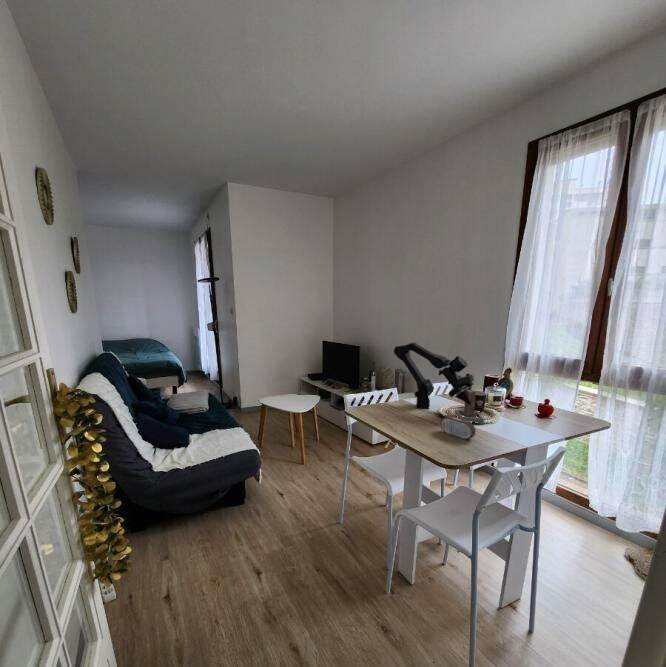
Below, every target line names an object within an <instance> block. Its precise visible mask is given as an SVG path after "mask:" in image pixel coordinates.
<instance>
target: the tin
mask: <svg viewBox="0 0 666 667" xmlns="http://www.w3.org/2000/svg"><path fill="white" fill-rule="evenodd" d="M440 427H441V429H442V431H443V433H446V434H447V435H450V436H453V437H455V438H457V439H458V438H459V439H462V440H464V439H465V440H466V441H467V440H470V439H472V438H474V436H475V435H476V428H475V425H474V424H472V423H471V422H469V421H467V420H464V419H461V418H457V417H456V416H453V415H449V414H448V415H445V416H444V417H443V418H442V419H441V420H440Z"/></svg>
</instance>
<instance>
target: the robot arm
mask: <svg viewBox="0 0 666 667" xmlns="http://www.w3.org/2000/svg"><path fill="white" fill-rule="evenodd" d="M411 351H412V352H414V353H415V354H417V355H419V356H421V357H423V358H424V359H425V360H427V361H428V362H429V363H430V364H431V365H432V366H433V367H434V368H435V369H439V370H438V376H442V375H443V377H444V378H445V379H446V380H447V381H448V382H447V384H448V385H451V387H452V388H453V389H451V390H450V391H449V392H448V396H449V397H450V398H457V399H459V400H461V401H462V402H464V403H465V402H466V403H468V404H469V405H470V404H471V402H470V400H469V398H468V397H467V395H466V390H473V389H472V388H473V386H474V385H475V384H474V383H473V382H474V381H475V379H474V375H473V374H471V373H470V372H469V373H466V374H465V376H462V375H461V374H460V375H458V373H461V371H463V370H464V369H465V368H467V367H468V366H469V364H468V363H467V361H466V360H465V359H464V358H462V357H461V356H460V355H457V356H455V357H454V359H453V360H451V359H448V358H447V357H445V356H442V355H440V354H437V353H436V354H435V353H433V352H431V351H429V350H428V349H426V348H424V347H423V346H421V345H419V344H417V343H416V342H410V343H407V344H405V345H404V344H402V345H397V346H395V347H394V349H393V353H394V355H395V356H396V357H397V358H398V359H399V360H401V361H402V362H403V363H404V365H405V367H406V368H407V370H408V371H409V373H410V374H411V376H412V378H413V379H414V380H415V383H416V389H417V390H416V391H415V392H414V397H415V398H416V404H415V406H416V408H417V409H421V410H422V409H424V410H429V409H430V406H431V405H430V403H431V402H430V396H431V394H432V393H433V392H434V389H435V387H434V384H433V383H432V382H431V380H430V379H429V378H428V379H426V378H425V377H424V376H423V374H422V373H421V372H420V370H419V368H418V367H417V366H416V364H415V362H414V361H413V359H412V357H411Z"/></svg>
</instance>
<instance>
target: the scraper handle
mask: <svg viewBox="0 0 666 667" xmlns="http://www.w3.org/2000/svg"><path fill="white" fill-rule="evenodd" d="M475 391H476V390H473V389H471V390H466V395H467V397H468V398H469V400H470V402H471V404H470V405H469V404H468V403H466V402H464V408H463V409H461V410H462V415H464V416H465V417H476V414H477V413H475V412H474V408H475V394H476V392H475Z"/></svg>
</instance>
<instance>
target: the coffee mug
mask: <svg viewBox="0 0 666 667" xmlns="http://www.w3.org/2000/svg"><path fill="white" fill-rule="evenodd" d="M474 391H475V392H476V394H475V408H474V411H480V412H479V413H483V412H484V410H485V406H486V401H487V395H488V393H487V392H485V391H482V390H474ZM482 411H483V412H482Z"/></svg>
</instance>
